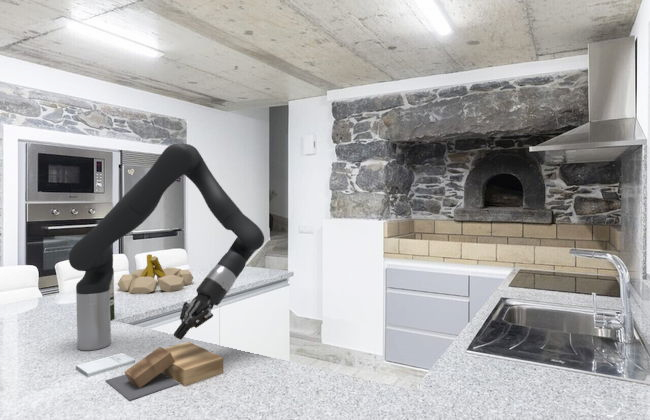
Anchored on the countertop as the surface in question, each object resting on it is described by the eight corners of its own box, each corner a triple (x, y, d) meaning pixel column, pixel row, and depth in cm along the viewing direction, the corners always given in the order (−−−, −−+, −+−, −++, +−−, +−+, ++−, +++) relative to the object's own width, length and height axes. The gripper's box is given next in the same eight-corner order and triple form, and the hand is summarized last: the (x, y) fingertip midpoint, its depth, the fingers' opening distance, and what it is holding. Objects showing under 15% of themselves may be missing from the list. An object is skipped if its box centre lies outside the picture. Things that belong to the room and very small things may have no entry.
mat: (105, 381, 108) (105, 380, 108) (152, 367, 117) (152, 366, 117) (129, 401, 98) (129, 399, 97) (178, 384, 106) (178, 383, 106)
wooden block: (152, 366, 118) (152, 351, 117) (189, 355, 126) (189, 341, 125) (184, 386, 105) (184, 370, 105) (223, 372, 113) (223, 357, 113)
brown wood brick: (164, 355, 114) (129, 381, 107) (159, 346, 113) (124, 371, 106) (175, 361, 110) (139, 388, 103) (170, 352, 109) (134, 379, 102)
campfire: (140, 280, 238) (140, 250, 238) (200, 280, 237) (200, 250, 236) (105, 295, 203) (105, 259, 203) (176, 295, 202) (175, 259, 201)
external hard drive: (75, 371, 116) (122, 357, 125) (87, 379, 111) (135, 364, 120) (75, 365, 116) (121, 351, 125) (87, 373, 110) (135, 358, 120)
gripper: (196, 273, 124) (155, 324, 115) (221, 279, 115) (179, 335, 106) (212, 288, 128) (174, 339, 119) (238, 295, 119) (198, 351, 110)
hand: (176, 337), depth 113 cm, fingers closed
